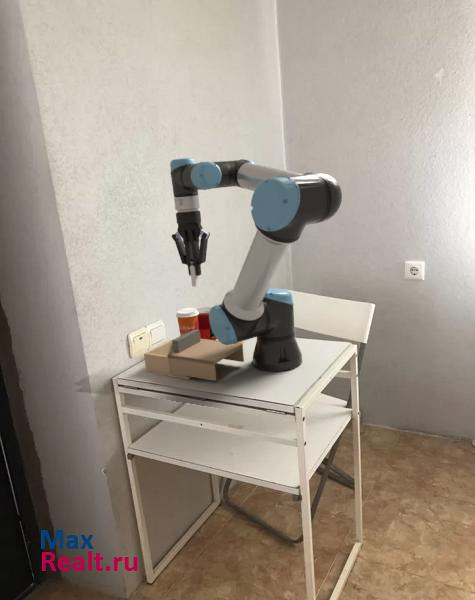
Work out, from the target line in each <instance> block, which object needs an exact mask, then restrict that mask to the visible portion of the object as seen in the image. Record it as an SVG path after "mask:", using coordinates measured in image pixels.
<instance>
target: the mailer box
mask: <svg viewBox="0 0 475 600" xmlns="http://www.w3.org/2000/svg"><path fill="white" fill-rule="evenodd" d="M172 340H173V339H170V340H169V341H167V342H165V343H163V344H160V345H158V346H156V347H154V348H152V349H150V350H148V351H147V352H144V353H143V356H144V364H145V370H146V373H151V374H157V375H163V376H169V377H175V378H180V379H185V380H189V379H190V378H191V376H185V375H179V374H174V373H170V371H169V362H168V354H170V353H172V352H174V350H173V342H172Z"/></svg>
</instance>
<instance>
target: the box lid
mask: <svg viewBox="0 0 475 600" xmlns="http://www.w3.org/2000/svg"><path fill="white" fill-rule="evenodd" d="M171 340H172V342H173V350H174V352H172V353H170V354H168V362H169V371H170V373H174V374H179V375H185V376H191V377H193V378H197V379H203V380H207V381H209V380H210V381H214V382H215V381H216V380H217V373H216V364H218V363H219V362H221V361H223V360H226V361H227V360H228V361H234V362H240V363H244V362H245V359H244V357H245V356H244V347H243V345H244V343H243V344H241V343H236V344H230V345H225V344H222V343H221V342H219V341H218V340H217V339H216V340H208V339H200V331H199V330H195V329H194V330H192V331H190V332H188V333H186V334H184V335H182V336H180V335H179V336H178V337H176V338H173V339H171ZM191 377H190V378H191Z"/></svg>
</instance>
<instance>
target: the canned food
mask: <svg viewBox="0 0 475 600" xmlns="http://www.w3.org/2000/svg"><path fill="white" fill-rule="evenodd" d="M211 308H212V306H211V307H209V306H205V307H199V308H196V309H197V311H198V312H199V314H198V326H199V331H200V339H208V340H216V341H217V340H218V339H217V338H216V337H215V335H214V333H213V331H212V329H211V325H210V321H209V312H210V309H211Z"/></svg>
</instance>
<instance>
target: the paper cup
mask: <svg viewBox="0 0 475 600" xmlns="http://www.w3.org/2000/svg"><path fill="white" fill-rule="evenodd" d="M197 309H198V308H196V307H186V308H181V309H179V310H177V312H176V313H175V316H176V318H177V323H178V329H179V334H180V335H179V337H180V336H182V335H184V334H186V333H188V332H190V331H192V330H194V329H195V330H199V326H198V314H199V312H198V311H197Z"/></svg>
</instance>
